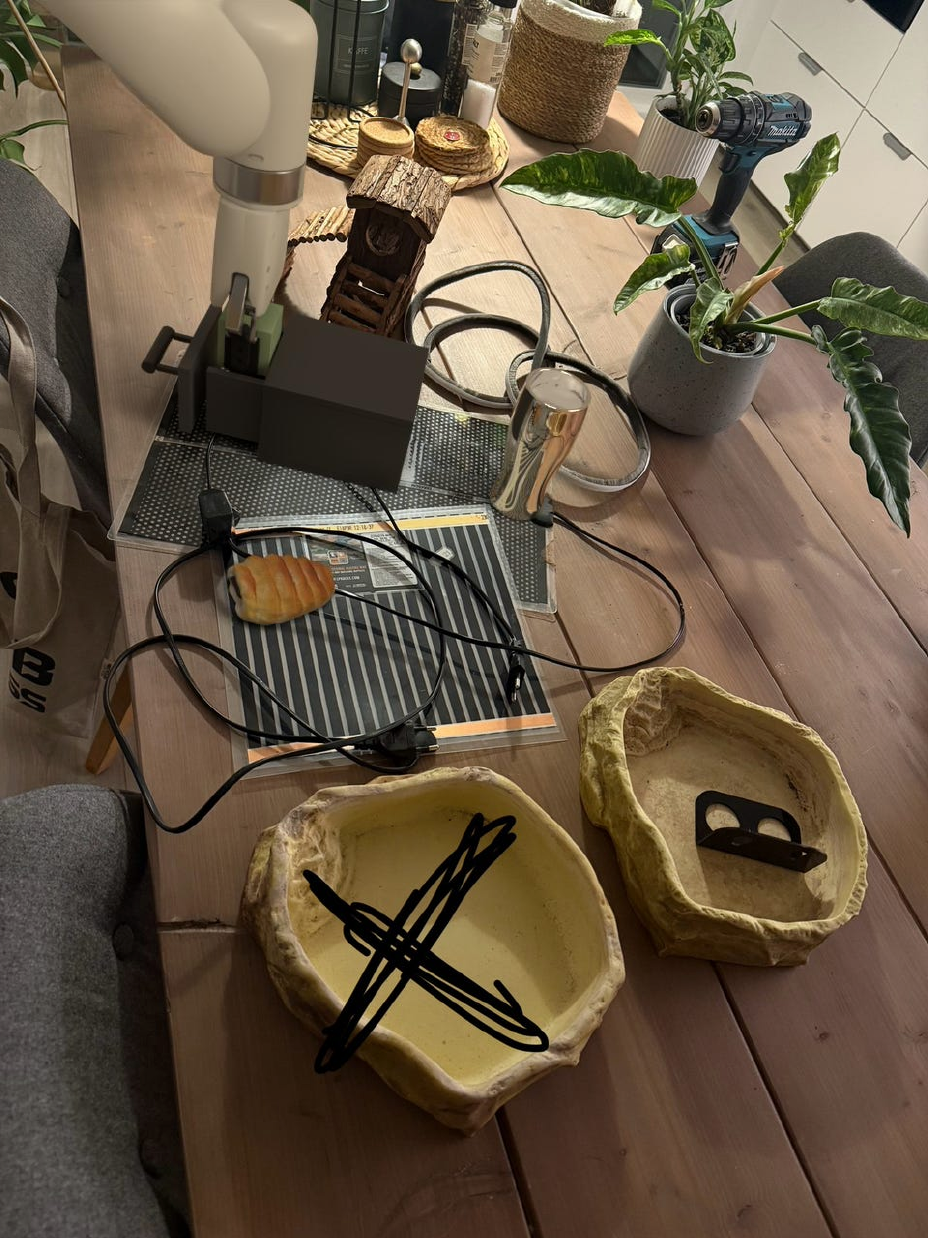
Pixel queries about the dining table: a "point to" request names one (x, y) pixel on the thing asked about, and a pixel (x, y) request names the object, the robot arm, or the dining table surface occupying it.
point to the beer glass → (539, 440)
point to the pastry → (279, 588)
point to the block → (266, 332)
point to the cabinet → (341, 403)
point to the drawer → (210, 382)
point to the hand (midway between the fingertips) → (248, 352)
